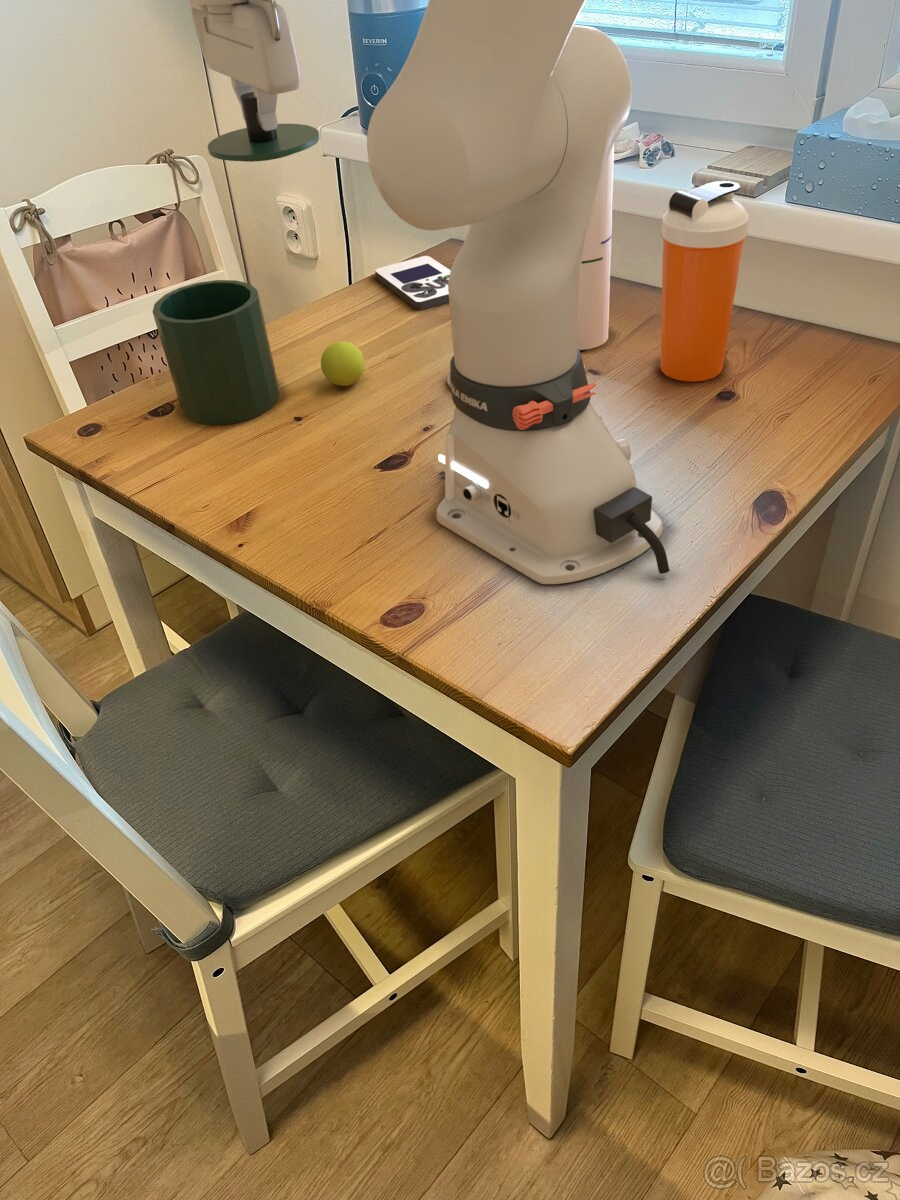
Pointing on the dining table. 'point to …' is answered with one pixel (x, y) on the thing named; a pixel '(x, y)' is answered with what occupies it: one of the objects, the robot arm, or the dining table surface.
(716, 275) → the shaker bottle
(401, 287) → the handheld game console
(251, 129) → the canister lid
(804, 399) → the dining table surface
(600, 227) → the cylindrical container
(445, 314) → the dining table surface
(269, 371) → the canister
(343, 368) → the ball
